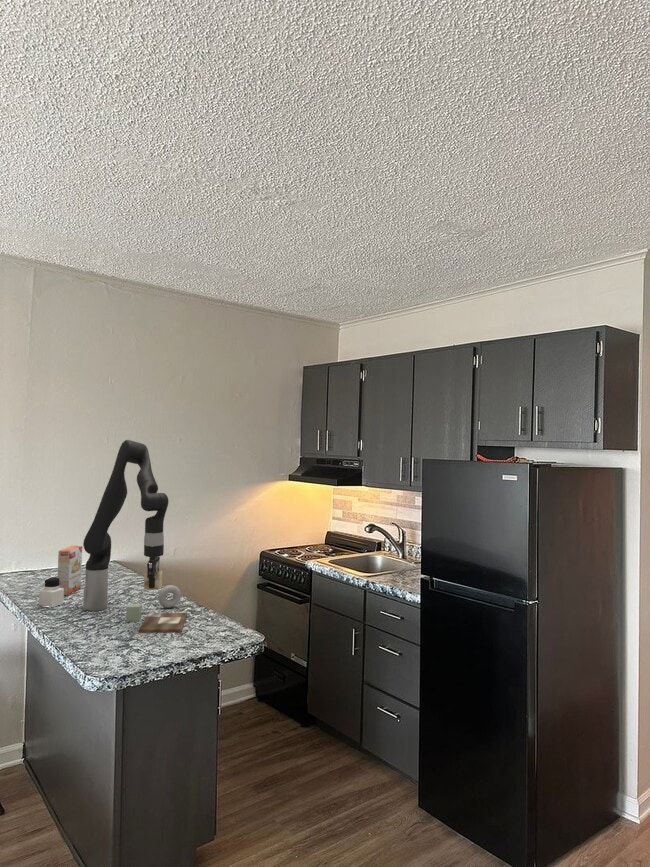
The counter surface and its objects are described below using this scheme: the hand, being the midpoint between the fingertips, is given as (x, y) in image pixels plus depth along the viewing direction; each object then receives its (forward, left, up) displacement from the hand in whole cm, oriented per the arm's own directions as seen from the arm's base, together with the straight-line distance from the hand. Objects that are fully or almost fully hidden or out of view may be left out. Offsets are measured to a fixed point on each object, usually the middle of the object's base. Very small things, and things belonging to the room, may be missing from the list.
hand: (153, 585), depth 243 cm
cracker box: (-47, +54, -16) cm, 73 cm away
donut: (+3, +26, -16) cm, 30 cm away
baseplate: (+4, +3, -16) cm, 17 cm away
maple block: (0, 0, -1) cm, 1 cm away
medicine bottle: (-48, +31, -16) cm, 59 cm away
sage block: (-9, +9, -16) cm, 20 cm away
